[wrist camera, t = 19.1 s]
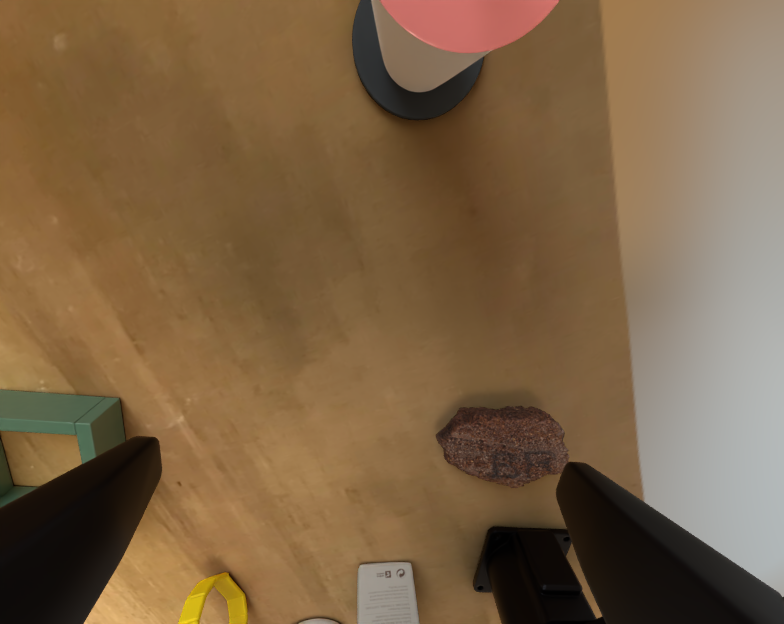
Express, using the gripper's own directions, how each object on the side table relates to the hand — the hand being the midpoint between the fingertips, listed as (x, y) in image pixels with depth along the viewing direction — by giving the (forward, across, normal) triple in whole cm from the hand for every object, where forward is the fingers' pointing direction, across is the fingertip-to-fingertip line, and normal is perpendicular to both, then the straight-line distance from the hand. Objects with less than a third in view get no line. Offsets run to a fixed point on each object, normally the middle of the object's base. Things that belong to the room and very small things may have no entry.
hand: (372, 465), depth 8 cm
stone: (+13, -9, +8) cm, 18 cm away
